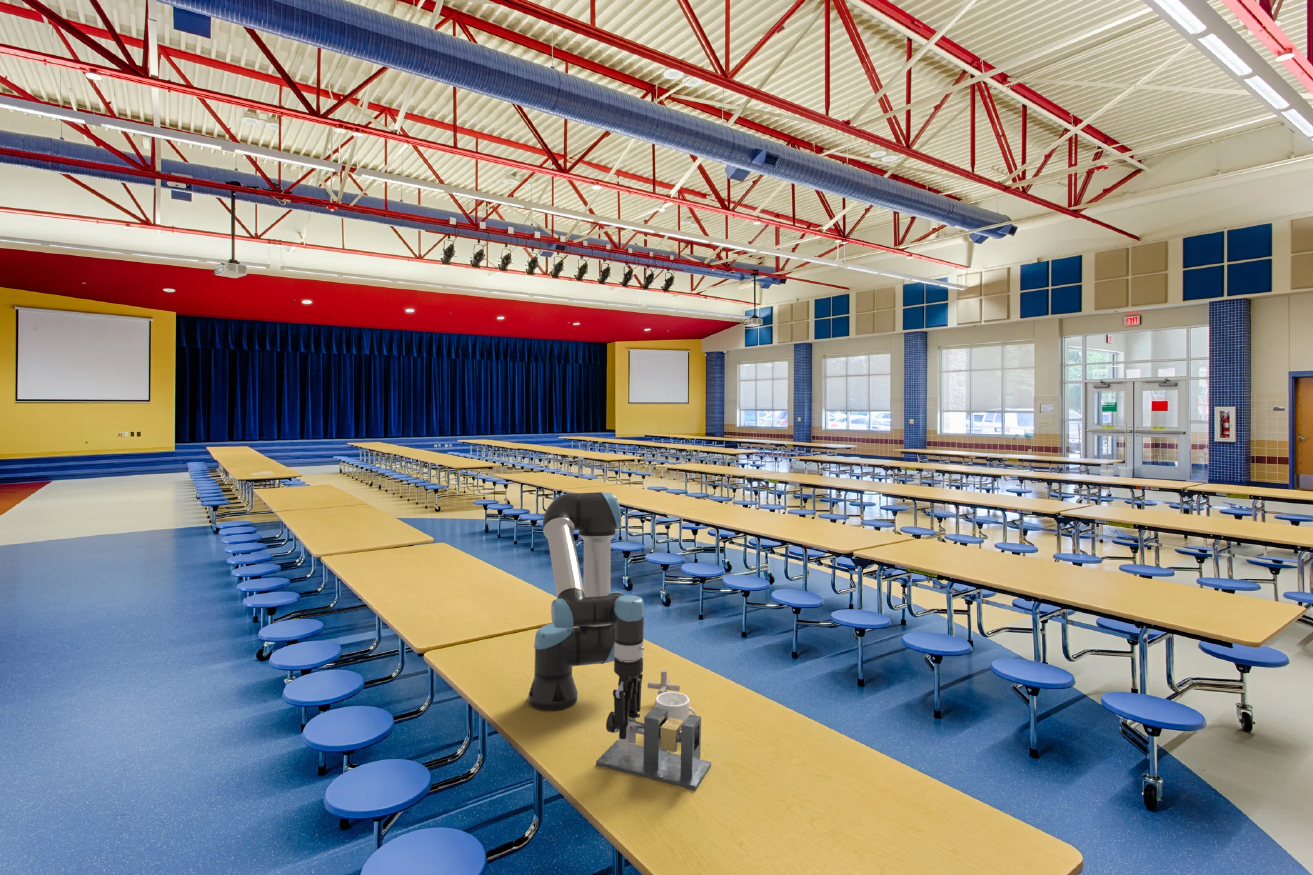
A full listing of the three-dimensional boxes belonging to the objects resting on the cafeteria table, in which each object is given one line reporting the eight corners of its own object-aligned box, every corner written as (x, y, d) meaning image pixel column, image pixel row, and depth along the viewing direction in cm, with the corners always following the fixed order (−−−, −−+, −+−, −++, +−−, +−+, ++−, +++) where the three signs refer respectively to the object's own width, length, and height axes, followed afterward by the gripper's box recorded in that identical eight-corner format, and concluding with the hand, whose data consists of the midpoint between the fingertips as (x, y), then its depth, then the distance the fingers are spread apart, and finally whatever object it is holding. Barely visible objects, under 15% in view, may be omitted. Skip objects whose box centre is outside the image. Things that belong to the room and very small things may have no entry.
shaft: (606, 734, 170) (606, 716, 170) (614, 726, 175) (614, 708, 175) (689, 754, 162) (689, 734, 161) (696, 744, 166) (696, 725, 166)
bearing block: (595, 765, 168) (596, 712, 167) (616, 743, 179) (617, 694, 178) (695, 790, 157) (696, 734, 157) (711, 765, 168) (712, 713, 168)
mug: (701, 725, 190) (701, 694, 190) (691, 742, 180) (691, 709, 180) (662, 718, 194) (662, 688, 194) (650, 734, 184) (650, 702, 184)
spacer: (660, 748, 164) (660, 727, 164) (669, 738, 169) (669, 717, 169) (675, 752, 163) (675, 730, 162) (683, 741, 168) (684, 720, 168)
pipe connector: (676, 711, 199) (677, 678, 199) (644, 707, 201) (644, 675, 201) (681, 697, 209) (682, 666, 208) (651, 694, 211) (651, 663, 210)
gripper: (628, 670, 161) (626, 764, 162) (654, 648, 176) (652, 734, 177) (601, 665, 164) (599, 757, 165) (629, 644, 179) (627, 729, 180)
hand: (627, 745), depth 171 cm, fingers open, 3 cm apart
